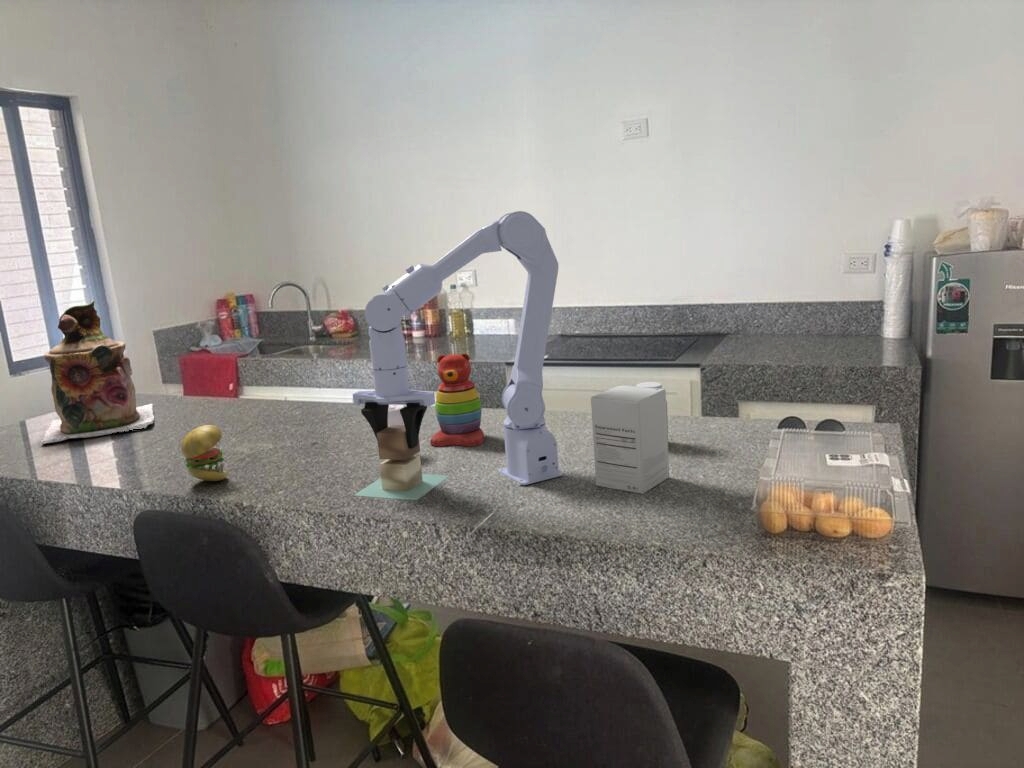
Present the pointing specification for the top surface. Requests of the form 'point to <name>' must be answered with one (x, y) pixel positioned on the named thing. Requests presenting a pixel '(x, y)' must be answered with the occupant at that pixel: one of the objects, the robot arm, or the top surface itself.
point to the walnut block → (395, 444)
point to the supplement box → (630, 438)
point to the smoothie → (395, 415)
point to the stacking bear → (457, 404)
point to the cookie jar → (91, 381)
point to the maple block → (401, 474)
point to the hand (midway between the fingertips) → (398, 446)
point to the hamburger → (204, 453)
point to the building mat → (413, 494)
